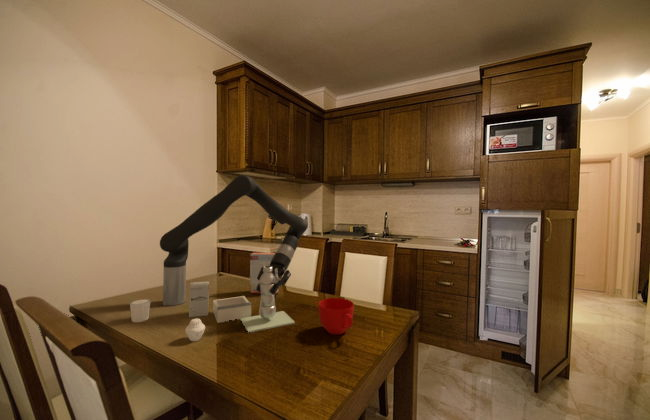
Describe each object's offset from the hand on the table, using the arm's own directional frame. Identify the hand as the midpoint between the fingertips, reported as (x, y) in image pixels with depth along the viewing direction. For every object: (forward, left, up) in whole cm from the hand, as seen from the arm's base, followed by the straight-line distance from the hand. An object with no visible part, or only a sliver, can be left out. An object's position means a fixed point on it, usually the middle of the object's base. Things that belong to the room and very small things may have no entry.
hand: (265, 292), depth 108 cm
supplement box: (-22, +22, -12) cm, 33 cm away
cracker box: (+11, +39, -12) cm, 42 cm away
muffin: (-25, -2, -12) cm, 28 cm away
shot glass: (-43, +26, -12) cm, 51 cm away
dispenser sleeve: (-10, +15, -12) cm, 21 cm away
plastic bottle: (+1, +1, -10) cm, 11 cm away
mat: (+1, +1, -12) cm, 12 cm away
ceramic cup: (+21, -20, -12) cm, 32 cm away
